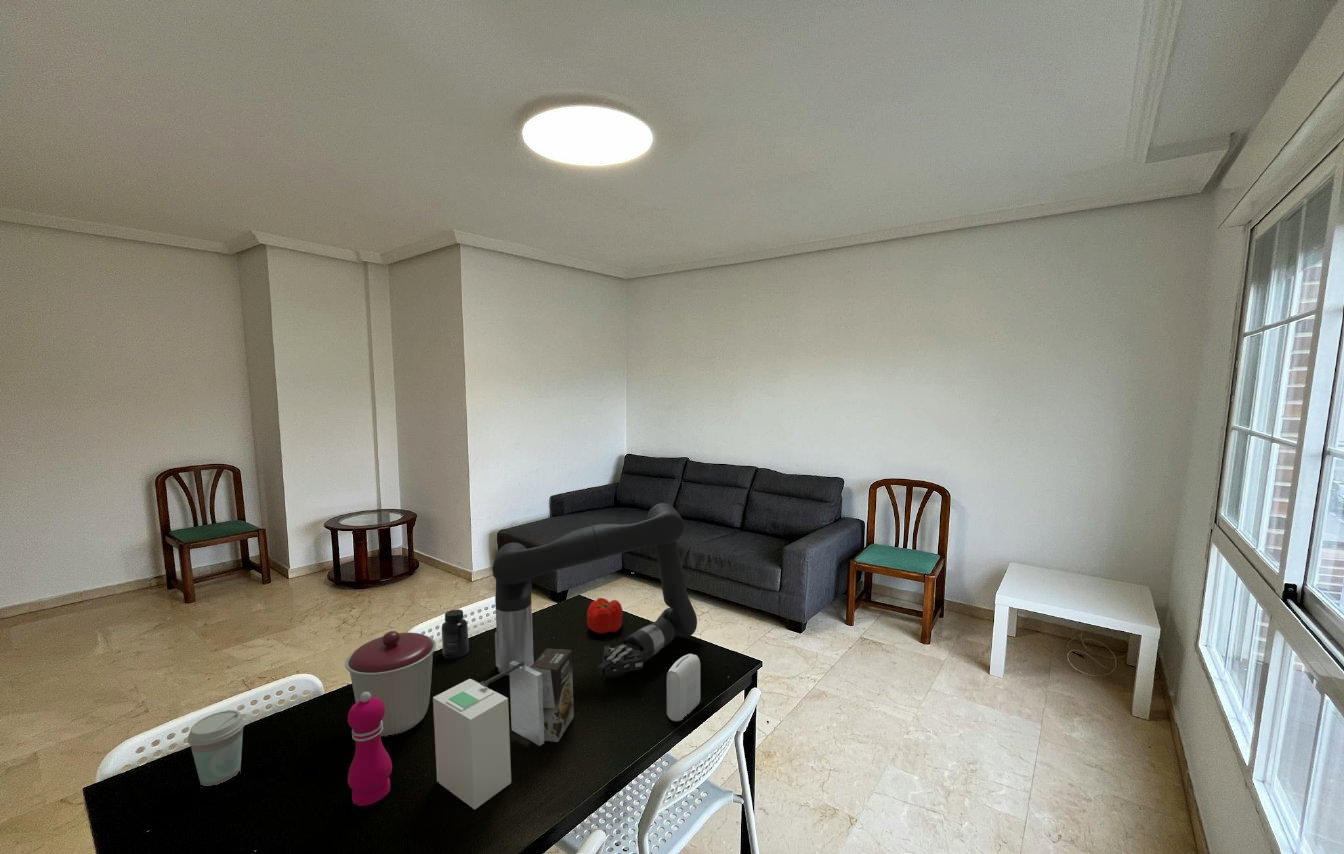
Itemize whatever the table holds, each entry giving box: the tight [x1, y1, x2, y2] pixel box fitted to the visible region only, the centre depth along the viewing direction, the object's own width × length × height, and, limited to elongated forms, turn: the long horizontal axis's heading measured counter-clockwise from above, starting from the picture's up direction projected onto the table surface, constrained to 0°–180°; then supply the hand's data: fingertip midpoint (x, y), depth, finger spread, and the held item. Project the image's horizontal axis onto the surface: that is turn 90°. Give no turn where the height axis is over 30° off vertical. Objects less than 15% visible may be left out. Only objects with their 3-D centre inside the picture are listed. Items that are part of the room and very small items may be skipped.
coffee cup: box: [187, 709, 246, 786], centre depth 106 cm, size 8×8×12 cm
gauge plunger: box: [479, 661, 545, 747], centre depth 111 cm, size 9×11×16 cm
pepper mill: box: [347, 692, 393, 807], centre depth 101 cm, size 7×7×20 cm
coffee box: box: [530, 648, 575, 743], centre depth 121 cm, size 9×6×16 cm
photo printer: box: [666, 653, 701, 722], centre depth 127 cm, size 10×4×12 cm, turn 147°
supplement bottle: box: [441, 608, 470, 660], centre depth 154 cm, size 7×7×12 cm
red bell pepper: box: [586, 597, 624, 634], centre depth 168 cm, size 11×12×9 cm
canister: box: [344, 630, 437, 737], centre depth 123 cm, size 18×18×21 cm
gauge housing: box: [432, 678, 512, 810], centre depth 104 cm, size 12×8×17 cm, turn 54°
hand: (599, 671), depth 133 cm, fingers closed
